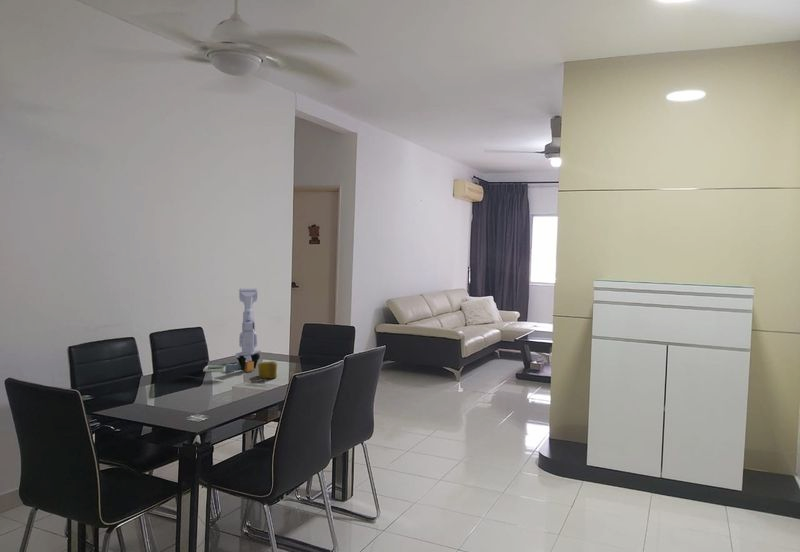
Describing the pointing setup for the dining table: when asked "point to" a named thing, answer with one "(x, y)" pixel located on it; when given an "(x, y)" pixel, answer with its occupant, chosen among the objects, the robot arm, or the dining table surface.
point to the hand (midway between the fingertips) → (248, 369)
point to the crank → (232, 367)
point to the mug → (267, 370)
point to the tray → (214, 369)
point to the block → (249, 366)
